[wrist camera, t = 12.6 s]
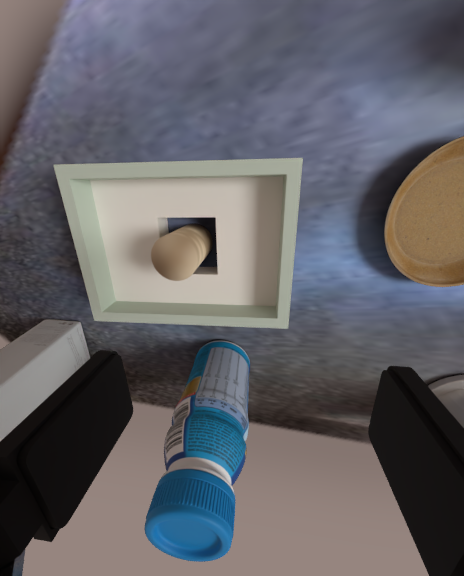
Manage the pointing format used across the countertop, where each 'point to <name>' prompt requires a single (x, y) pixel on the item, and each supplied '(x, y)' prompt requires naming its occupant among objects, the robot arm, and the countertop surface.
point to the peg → (181, 251)
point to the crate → (153, 225)
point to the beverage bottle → (203, 458)
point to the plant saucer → (430, 219)
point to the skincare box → (37, 368)
